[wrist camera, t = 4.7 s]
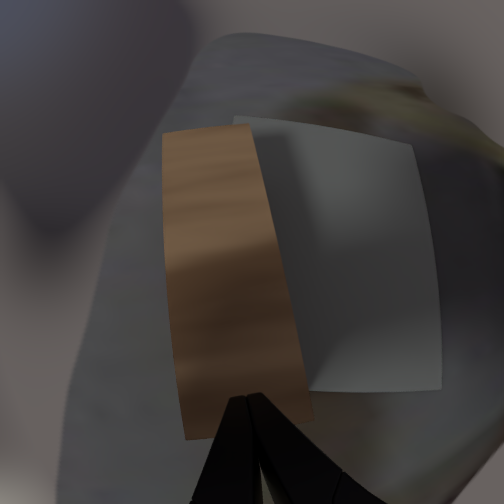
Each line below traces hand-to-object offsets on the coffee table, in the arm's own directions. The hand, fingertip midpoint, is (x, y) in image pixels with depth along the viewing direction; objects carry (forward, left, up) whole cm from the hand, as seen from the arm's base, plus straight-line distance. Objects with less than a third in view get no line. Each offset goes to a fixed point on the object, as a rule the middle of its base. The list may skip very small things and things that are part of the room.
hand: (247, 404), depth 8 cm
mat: (+10, -4, -8) cm, 13 cm away
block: (-1, 0, -5) cm, 5 cm away
